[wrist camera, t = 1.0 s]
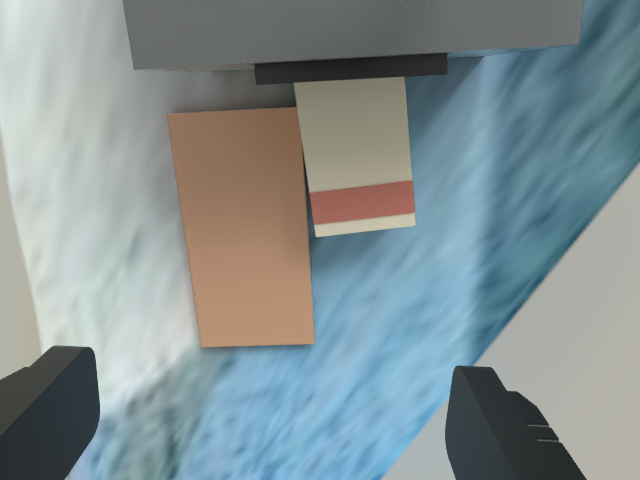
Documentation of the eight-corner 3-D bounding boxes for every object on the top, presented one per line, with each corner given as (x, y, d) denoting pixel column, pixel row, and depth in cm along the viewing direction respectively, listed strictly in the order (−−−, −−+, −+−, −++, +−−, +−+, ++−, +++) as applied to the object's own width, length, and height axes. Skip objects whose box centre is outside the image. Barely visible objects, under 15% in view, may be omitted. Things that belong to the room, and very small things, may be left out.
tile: (171, 113, 26) (166, 114, 26) (300, 106, 26) (299, 107, 25) (204, 340, 31) (201, 347, 30) (315, 337, 30) (314, 344, 30)
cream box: (286, -13, 24) (277, -29, 21) (385, -29, 24) (395, -48, 20) (318, 215, 28) (315, 238, 24) (404, 204, 28) (416, 226, 24)
